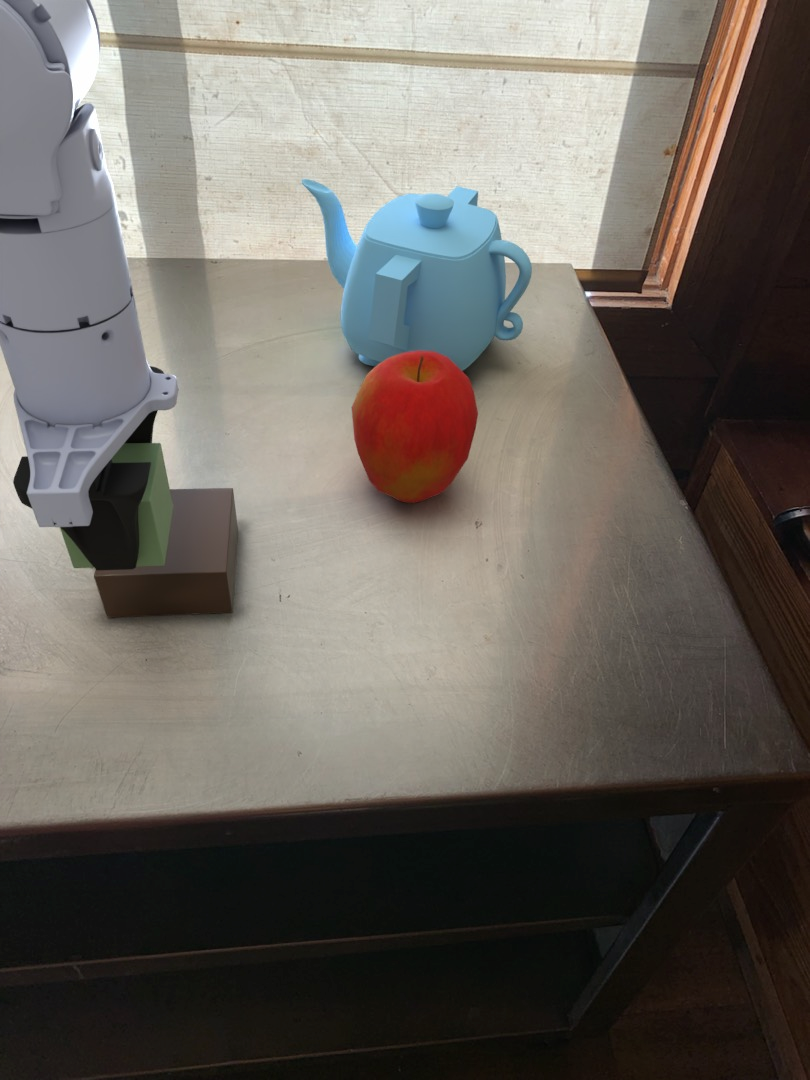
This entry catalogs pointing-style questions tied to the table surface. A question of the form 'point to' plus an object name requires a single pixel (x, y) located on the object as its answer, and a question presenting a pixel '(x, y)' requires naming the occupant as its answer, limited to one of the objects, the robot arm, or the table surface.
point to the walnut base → (182, 562)
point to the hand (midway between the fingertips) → (123, 530)
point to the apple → (414, 424)
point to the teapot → (423, 276)
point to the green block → (143, 508)
